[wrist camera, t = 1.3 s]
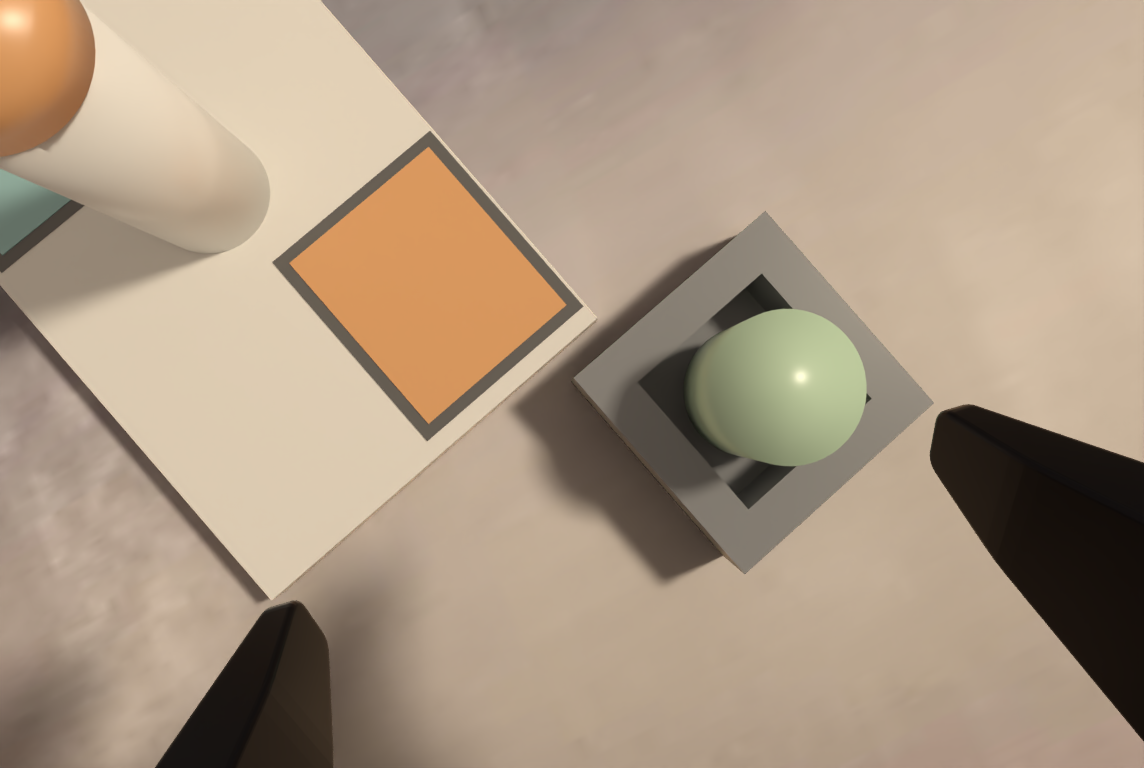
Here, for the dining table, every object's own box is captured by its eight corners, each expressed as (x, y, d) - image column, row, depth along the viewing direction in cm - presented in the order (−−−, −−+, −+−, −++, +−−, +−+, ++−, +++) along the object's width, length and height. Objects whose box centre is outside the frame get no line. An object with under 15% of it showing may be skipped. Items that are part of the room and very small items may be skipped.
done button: (742, 483, 21) (782, 499, 17) (656, 384, 21) (678, 379, 17) (839, 397, 21) (898, 394, 17) (753, 299, 21) (794, 276, 18)
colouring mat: (284, 592, 22) (270, 600, 21) (-117, 125, 22) (-151, 111, 21) (595, 321, 23) (597, 318, 22) (203, -128, 23) (186, -153, 22)
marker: (200, 282, 21) (-108, 171, 11) (117, 186, 21) (-262, -9, 11) (299, 200, 22) (82, 19, 12) (217, 105, 22) (-71, -156, 12)
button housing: (723, 556, 23) (744, 574, 20) (571, 381, 23) (573, 377, 20) (892, 403, 23) (934, 403, 20) (742, 232, 23) (765, 210, 21)
